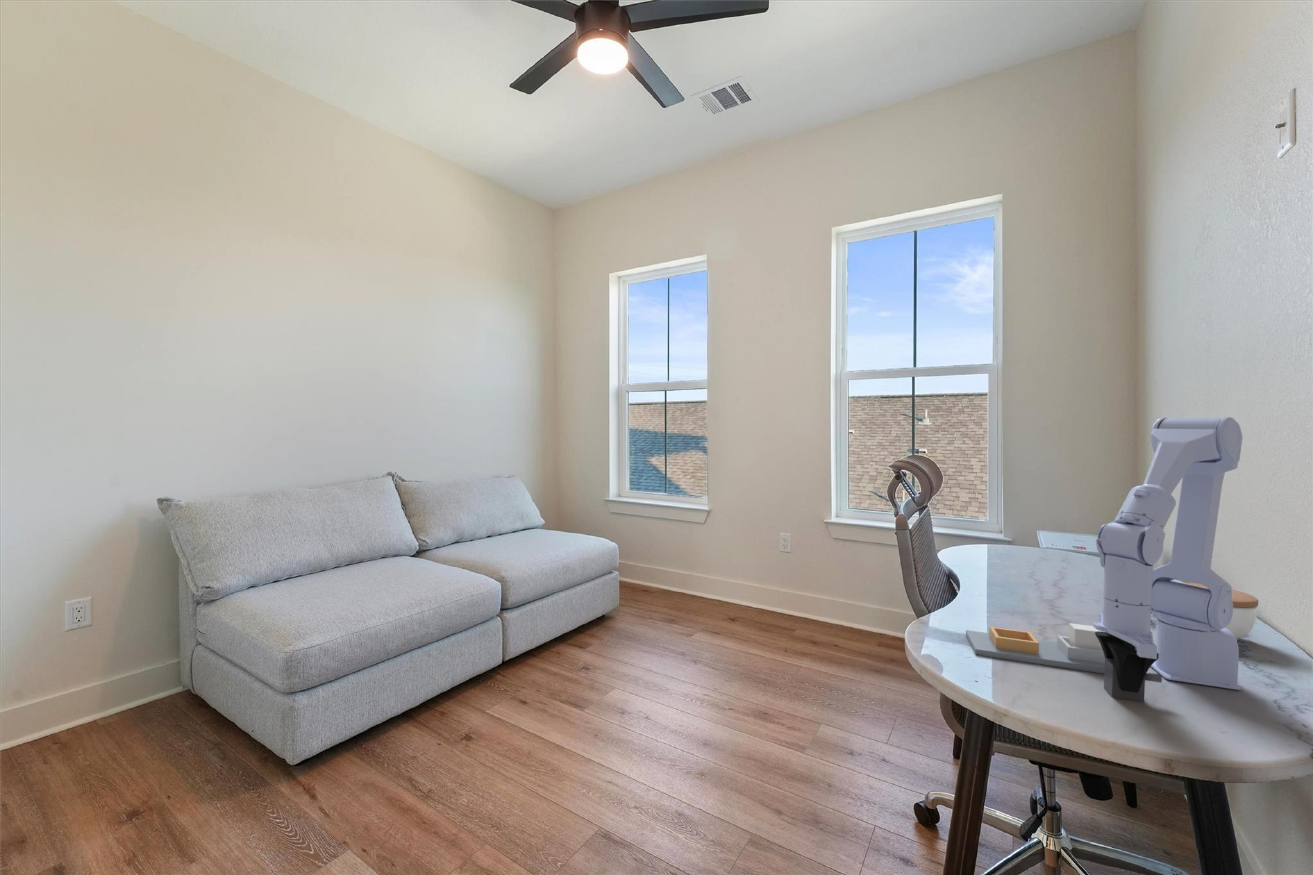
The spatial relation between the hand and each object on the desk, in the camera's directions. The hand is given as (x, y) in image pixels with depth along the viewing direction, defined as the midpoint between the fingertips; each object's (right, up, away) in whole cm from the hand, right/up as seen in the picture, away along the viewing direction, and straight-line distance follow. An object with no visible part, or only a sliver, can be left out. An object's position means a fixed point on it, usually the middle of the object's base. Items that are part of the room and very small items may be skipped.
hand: (1123, 685), depth 84 cm
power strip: (-2, -1, +15) cm, 15 cm away
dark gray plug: (+1, -2, 0) cm, 2 cm away
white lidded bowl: (+40, -2, +25) cm, 47 cm away
